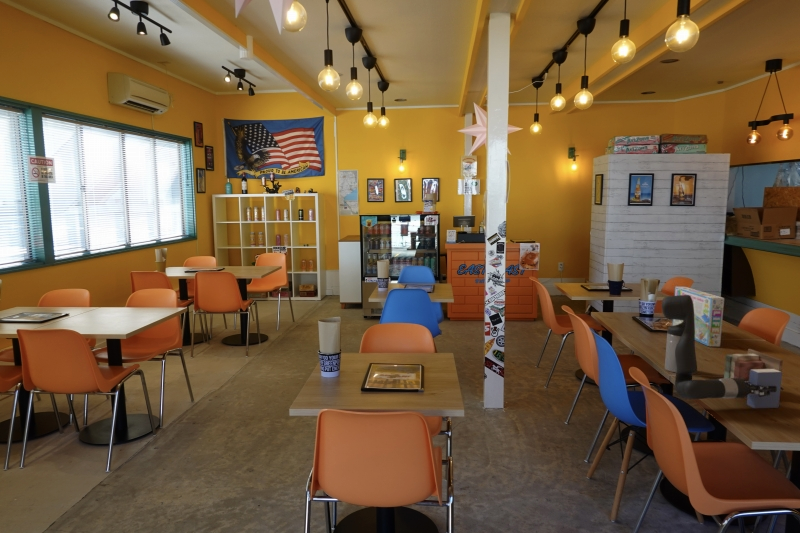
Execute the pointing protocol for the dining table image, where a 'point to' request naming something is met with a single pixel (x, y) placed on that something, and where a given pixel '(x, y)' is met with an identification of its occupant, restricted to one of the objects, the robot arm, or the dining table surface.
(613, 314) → the dining table surface
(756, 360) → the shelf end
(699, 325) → the game box
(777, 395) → the boxed book
